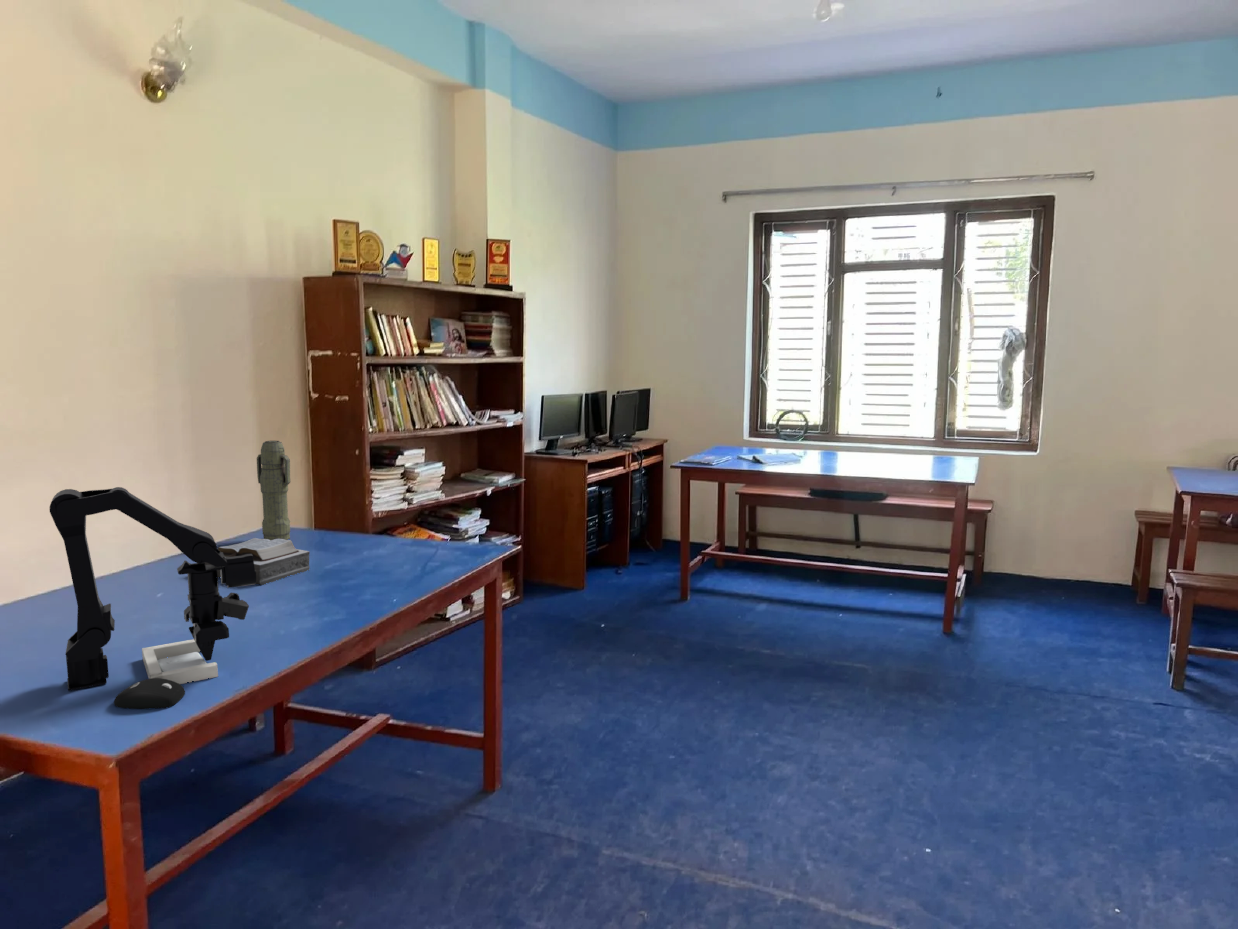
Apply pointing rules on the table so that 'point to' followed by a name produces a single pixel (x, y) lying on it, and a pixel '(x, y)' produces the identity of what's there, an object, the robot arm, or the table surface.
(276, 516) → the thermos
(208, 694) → the table surface
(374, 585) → the table surface
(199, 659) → the external hard drive
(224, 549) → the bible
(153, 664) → the dock
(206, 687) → the table surface
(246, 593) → the table surface
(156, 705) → the computer mouse
